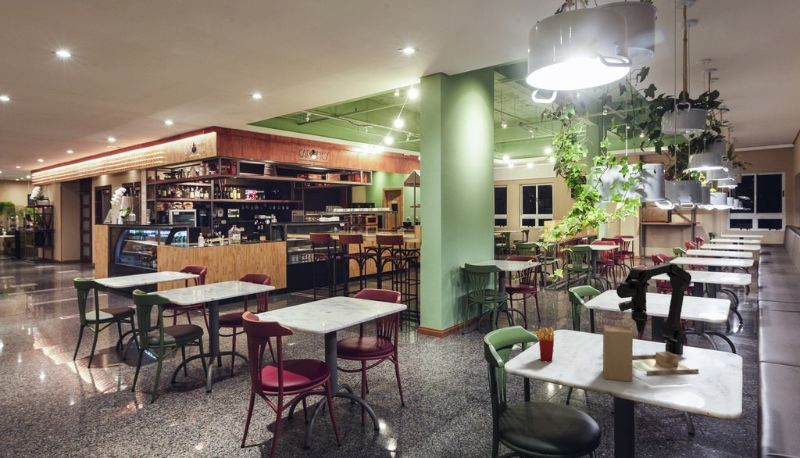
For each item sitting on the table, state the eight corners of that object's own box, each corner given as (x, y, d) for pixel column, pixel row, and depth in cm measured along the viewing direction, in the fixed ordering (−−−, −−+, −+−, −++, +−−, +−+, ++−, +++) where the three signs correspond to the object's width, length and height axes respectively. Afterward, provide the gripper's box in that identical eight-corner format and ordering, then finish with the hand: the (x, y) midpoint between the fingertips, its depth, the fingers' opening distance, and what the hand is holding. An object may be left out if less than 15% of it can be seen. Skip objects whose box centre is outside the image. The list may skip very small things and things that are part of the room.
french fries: (554, 363, 205) (554, 330, 205) (535, 361, 208) (535, 328, 207) (554, 357, 214) (554, 325, 213) (535, 355, 216) (535, 324, 216)
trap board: (666, 358, 209) (666, 354, 209) (698, 374, 189) (698, 369, 189) (620, 360, 208) (620, 355, 207) (647, 377, 188) (647, 371, 188)
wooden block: (628, 373, 192) (629, 326, 191) (632, 382, 182) (632, 332, 181) (602, 371, 195) (603, 324, 194) (605, 379, 186) (605, 330, 185)
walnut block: (668, 362, 202) (668, 351, 202) (677, 367, 196) (678, 355, 196) (655, 363, 201) (655, 352, 201) (664, 368, 195) (664, 356, 195)
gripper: (619, 291, 219) (620, 323, 220) (618, 299, 203) (619, 333, 204) (646, 292, 214) (646, 325, 215) (647, 300, 198) (647, 336, 199)
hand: (639, 330), depth 208 cm, fingers open, 9 cm apart
